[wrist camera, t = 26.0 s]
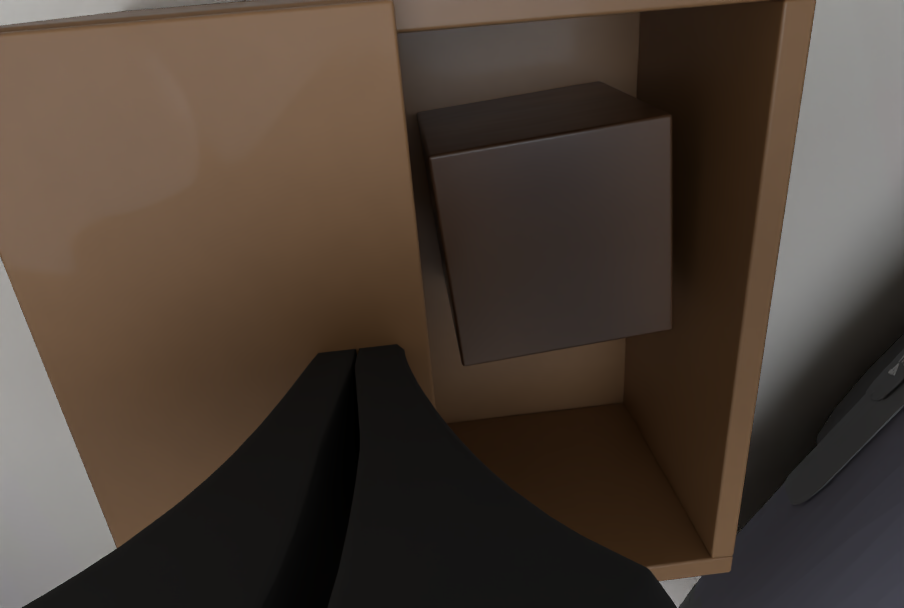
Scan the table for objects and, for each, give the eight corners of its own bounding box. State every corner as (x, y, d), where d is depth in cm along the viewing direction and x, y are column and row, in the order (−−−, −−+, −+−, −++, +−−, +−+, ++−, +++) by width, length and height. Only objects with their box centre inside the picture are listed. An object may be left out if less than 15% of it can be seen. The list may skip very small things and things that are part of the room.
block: (444, 281, 18) (462, 368, 14) (416, 111, 16) (426, 156, 12) (609, 252, 18) (674, 330, 14) (600, 80, 16) (674, 113, 12)
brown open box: (236, 450, 20) (175, 645, 14) (118, 11, 15) (-58, 32, 9) (632, 404, 21) (731, 573, 15) (655, -34, 15) (824, -43, 9)
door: (173, 660, 14) (168, 679, 13) (-69, 38, 8) (-88, 40, 8) (457, 620, 14) (459, 637, 14) (392, -1, 9) (394, -1, 8)
